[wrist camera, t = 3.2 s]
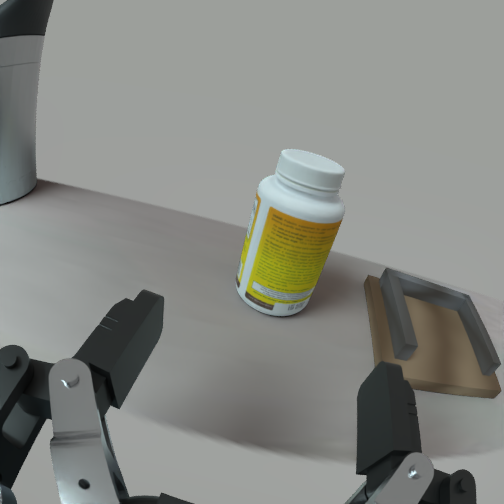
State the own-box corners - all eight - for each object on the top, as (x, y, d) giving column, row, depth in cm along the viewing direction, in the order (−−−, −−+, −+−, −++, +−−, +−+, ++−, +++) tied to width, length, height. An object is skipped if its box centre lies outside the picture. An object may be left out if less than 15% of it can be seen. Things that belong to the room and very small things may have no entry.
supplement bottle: (320, 312, 22) (376, 182, 17) (254, 327, 19) (303, 174, 14) (283, 266, 26) (321, 149, 21) (222, 273, 23) (252, 140, 18)
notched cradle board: (376, 382, 17) (396, 358, 16) (363, 283, 26) (375, 261, 25) (493, 398, 16) (513, 378, 15) (461, 313, 26) (473, 294, 24)
